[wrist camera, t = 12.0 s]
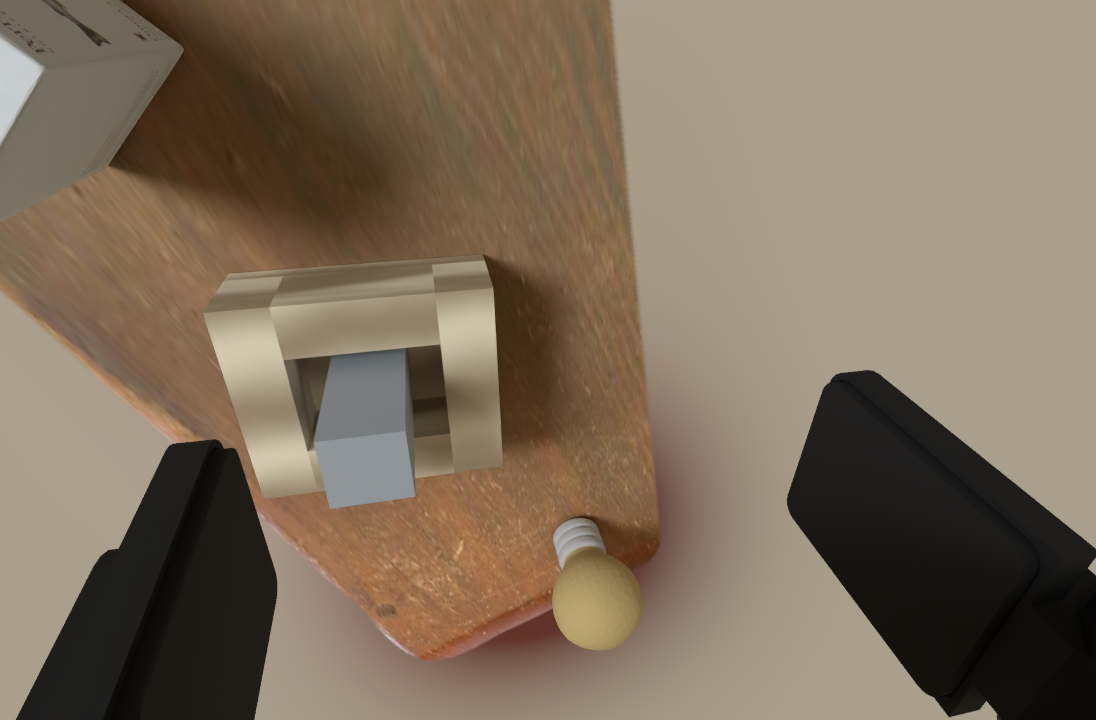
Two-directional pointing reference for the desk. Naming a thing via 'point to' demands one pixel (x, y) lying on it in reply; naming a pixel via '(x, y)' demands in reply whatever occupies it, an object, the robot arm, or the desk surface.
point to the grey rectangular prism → (367, 428)
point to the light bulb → (593, 589)
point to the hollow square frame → (352, 327)
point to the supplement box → (71, 90)
